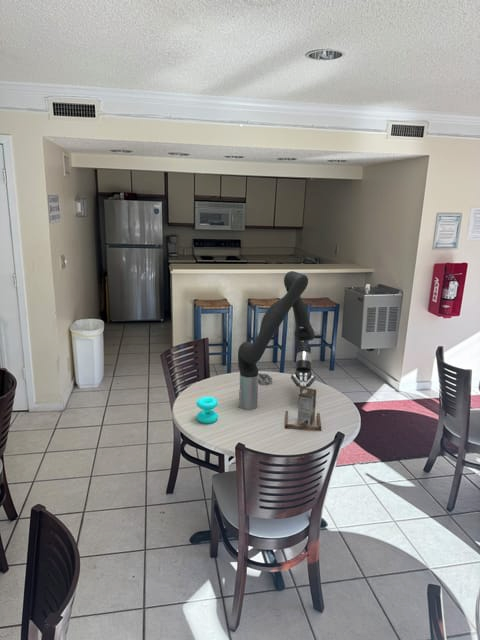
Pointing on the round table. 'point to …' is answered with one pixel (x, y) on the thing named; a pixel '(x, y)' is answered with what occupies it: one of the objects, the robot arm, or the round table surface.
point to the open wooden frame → (303, 427)
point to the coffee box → (306, 406)
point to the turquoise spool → (207, 410)
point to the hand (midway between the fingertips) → (302, 394)
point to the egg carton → (264, 379)
